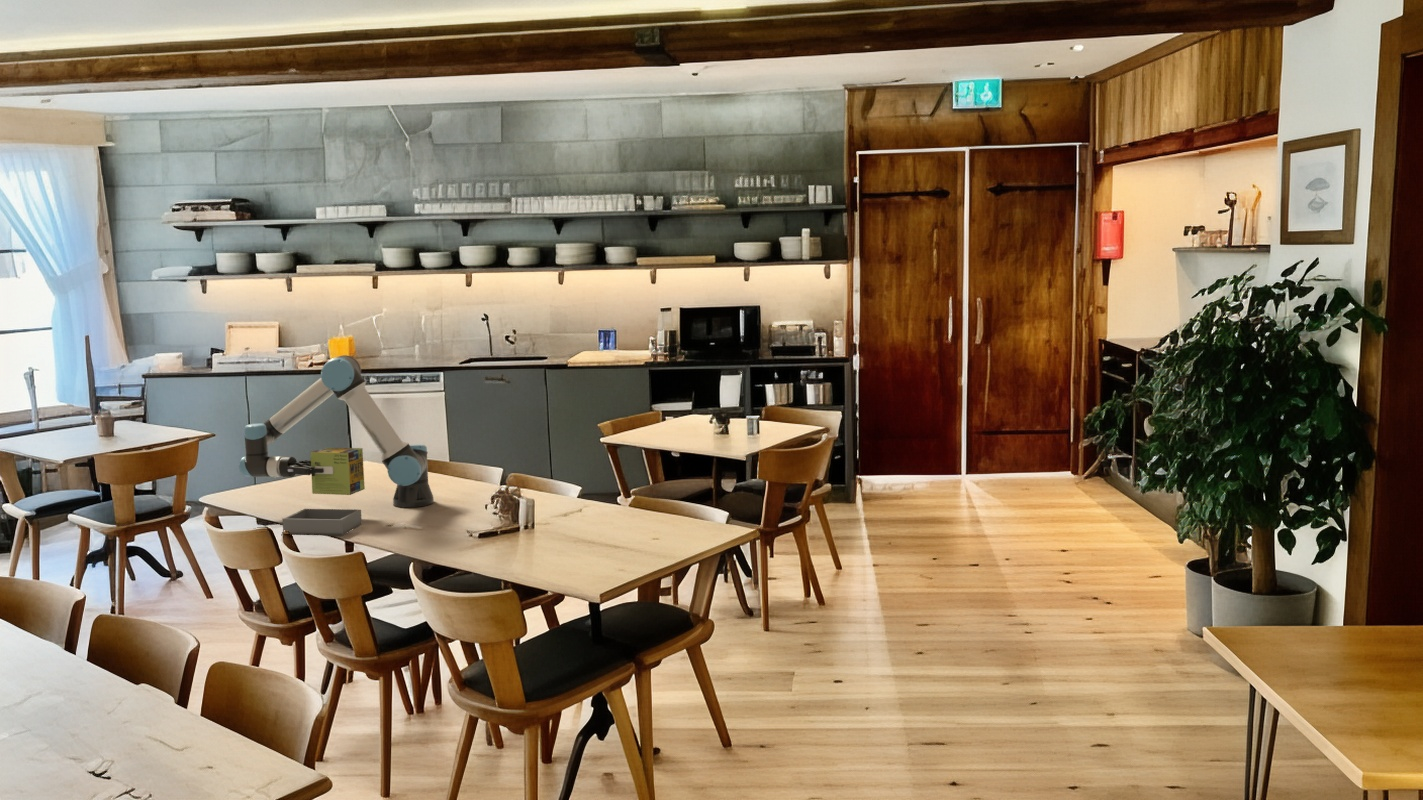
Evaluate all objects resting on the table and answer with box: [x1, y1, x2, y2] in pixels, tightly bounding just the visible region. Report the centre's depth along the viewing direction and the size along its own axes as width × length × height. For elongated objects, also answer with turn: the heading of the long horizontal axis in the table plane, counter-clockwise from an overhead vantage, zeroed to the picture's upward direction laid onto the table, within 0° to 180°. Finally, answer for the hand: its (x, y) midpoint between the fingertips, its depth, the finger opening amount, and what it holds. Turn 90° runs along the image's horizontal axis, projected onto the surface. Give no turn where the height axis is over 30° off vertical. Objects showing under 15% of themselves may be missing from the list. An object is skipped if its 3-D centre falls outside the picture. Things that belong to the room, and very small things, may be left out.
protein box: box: [309, 447, 366, 496], centre depth 393 cm, size 10×15×16 cm
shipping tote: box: [281, 508, 363, 537], centre depth 377 cm, size 21×16×6 cm
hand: (340, 467), depth 392 cm, fingers closed on protein box, 11 cm apart
